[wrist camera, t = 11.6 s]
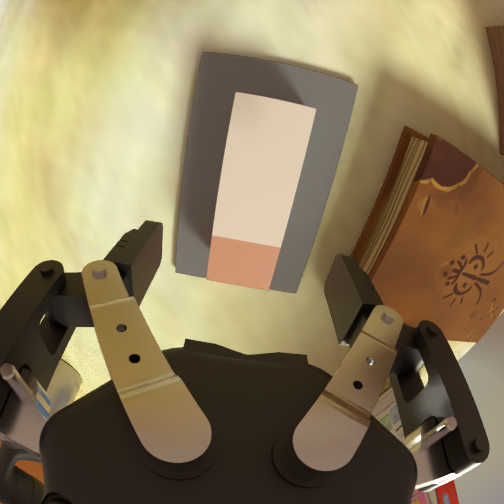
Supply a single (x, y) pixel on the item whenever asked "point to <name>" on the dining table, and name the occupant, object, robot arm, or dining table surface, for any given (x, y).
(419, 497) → the game box
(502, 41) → the tissue box cover
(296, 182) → the white and pink box
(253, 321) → the dining table surface
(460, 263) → the diary
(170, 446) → the robot arm
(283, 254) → the mat
